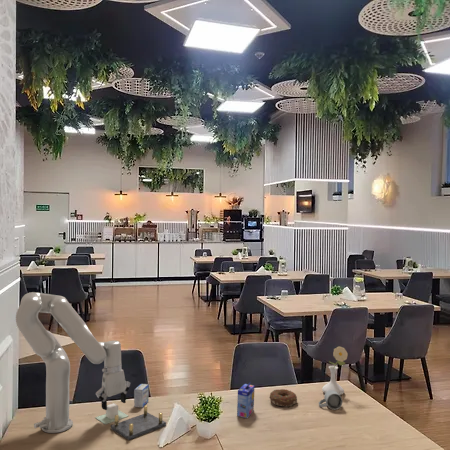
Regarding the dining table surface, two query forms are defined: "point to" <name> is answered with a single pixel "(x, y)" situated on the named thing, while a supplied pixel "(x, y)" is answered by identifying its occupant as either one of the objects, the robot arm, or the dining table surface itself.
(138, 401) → the medicine box
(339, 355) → the flower in vase
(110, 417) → the sage board
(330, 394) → the ceramic mug
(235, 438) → the dining table surface
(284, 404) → the donut
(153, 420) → the chassis plate
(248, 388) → the ink cartridge box
